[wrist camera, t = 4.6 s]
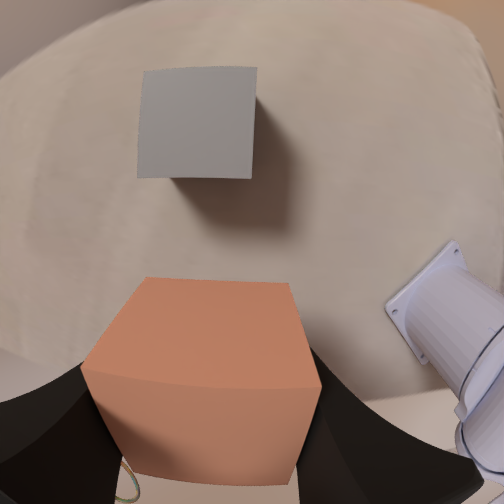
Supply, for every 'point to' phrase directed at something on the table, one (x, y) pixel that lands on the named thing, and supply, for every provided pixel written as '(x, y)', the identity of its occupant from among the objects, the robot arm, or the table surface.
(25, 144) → the table surface
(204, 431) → the terracotta block
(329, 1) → the table surface
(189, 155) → the slate block
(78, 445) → the robot arm
